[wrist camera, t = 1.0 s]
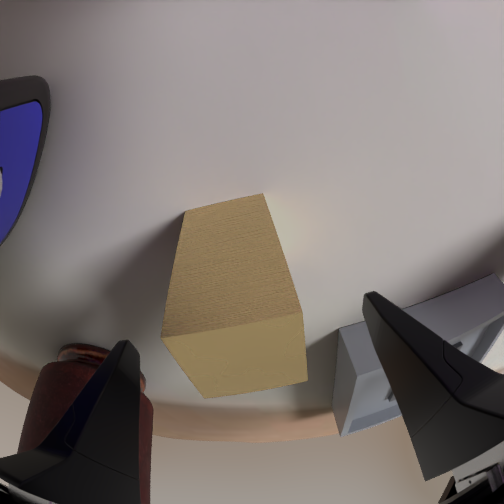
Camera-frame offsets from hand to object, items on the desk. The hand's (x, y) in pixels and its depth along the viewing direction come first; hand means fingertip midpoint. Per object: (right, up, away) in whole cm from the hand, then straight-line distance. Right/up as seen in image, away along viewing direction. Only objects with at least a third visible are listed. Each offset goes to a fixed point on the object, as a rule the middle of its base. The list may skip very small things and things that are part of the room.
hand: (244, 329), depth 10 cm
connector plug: (-1, +4, +5) cm, 7 cm away
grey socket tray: (+17, -8, +15) cm, 24 cm away
